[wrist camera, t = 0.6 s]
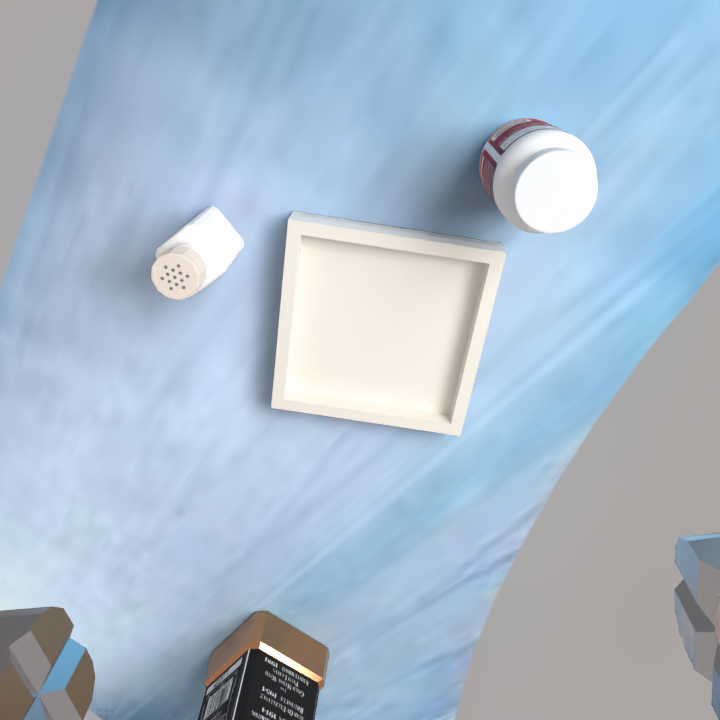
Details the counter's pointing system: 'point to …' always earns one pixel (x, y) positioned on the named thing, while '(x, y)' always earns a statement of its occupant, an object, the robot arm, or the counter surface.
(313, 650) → the whiskey bottle
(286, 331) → the tray
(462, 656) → the counter surface
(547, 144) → the pill bottle
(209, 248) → the salt shaker
